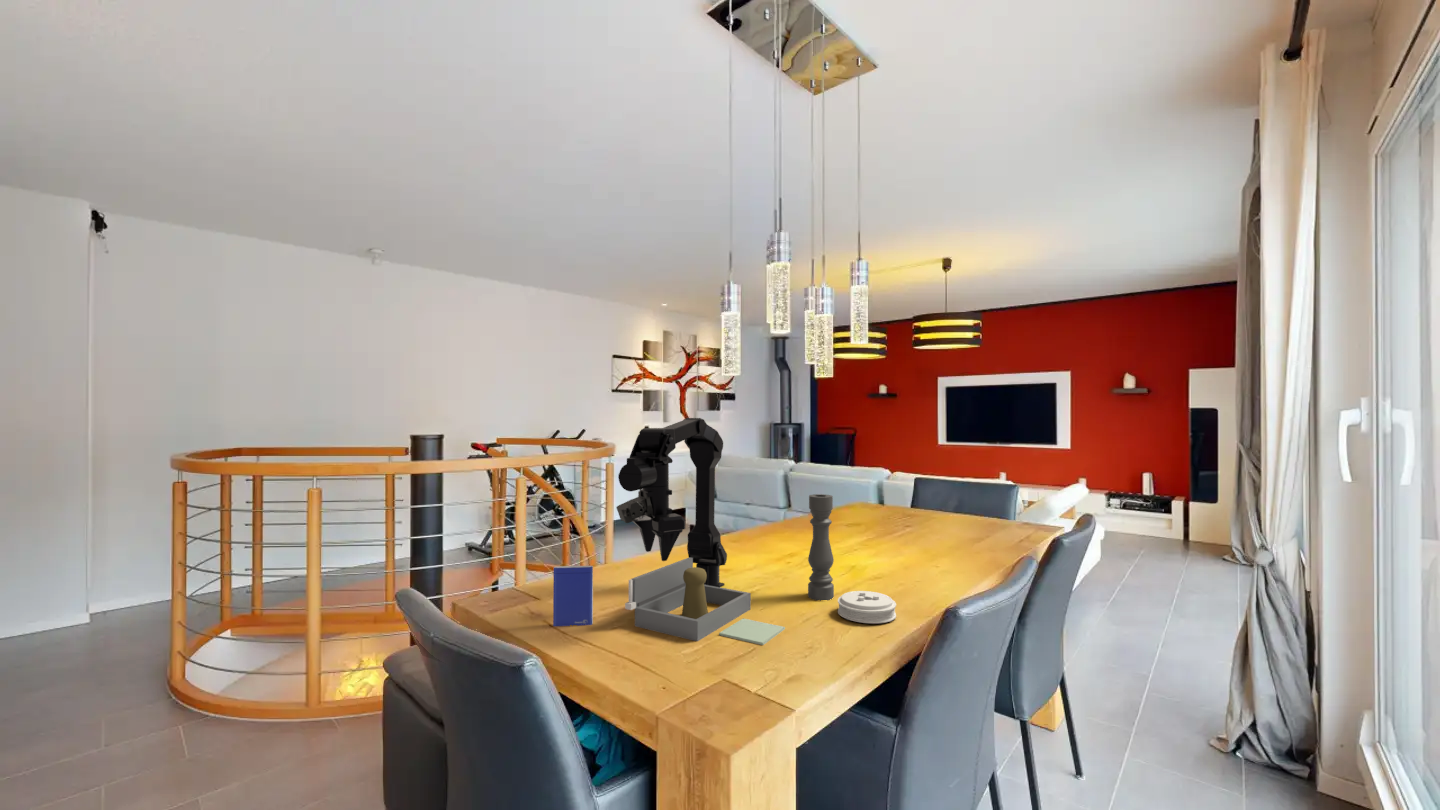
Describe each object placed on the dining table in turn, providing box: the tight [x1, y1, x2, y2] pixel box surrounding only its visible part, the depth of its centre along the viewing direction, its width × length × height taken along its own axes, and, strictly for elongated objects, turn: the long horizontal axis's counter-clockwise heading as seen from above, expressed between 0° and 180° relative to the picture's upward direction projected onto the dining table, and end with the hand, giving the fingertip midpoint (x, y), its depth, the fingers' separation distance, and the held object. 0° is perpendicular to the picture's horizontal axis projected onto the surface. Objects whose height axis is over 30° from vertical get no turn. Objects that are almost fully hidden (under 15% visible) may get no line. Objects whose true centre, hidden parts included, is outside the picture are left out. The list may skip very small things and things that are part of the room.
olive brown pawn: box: [681, 566, 709, 619], centre depth 133 cm, size 6×6×11 cm
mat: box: [718, 618, 786, 646], centre depth 125 cm, size 10×10×1 cm
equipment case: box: [624, 556, 752, 642], centre depth 133 cm, size 24×17×10 cm
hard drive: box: [552, 565, 594, 627], centre depth 129 cm, size 2×8×12 cm, turn 95°
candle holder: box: [807, 493, 835, 602], centre depth 148 cm, size 6×6×25 cm
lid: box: [837, 590, 897, 624], centre depth 135 cm, size 13×13×5 cm
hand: (656, 555), depth 133 cm, fingers open, 9 cm apart
